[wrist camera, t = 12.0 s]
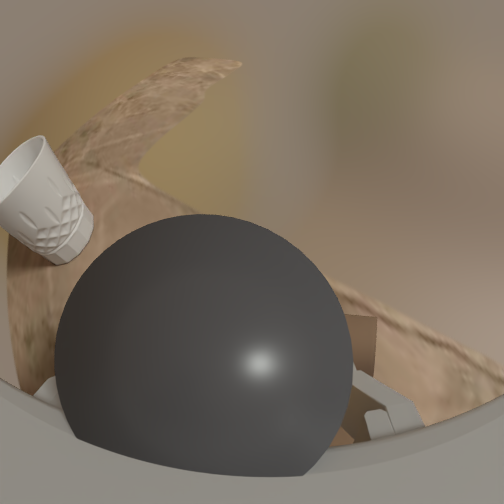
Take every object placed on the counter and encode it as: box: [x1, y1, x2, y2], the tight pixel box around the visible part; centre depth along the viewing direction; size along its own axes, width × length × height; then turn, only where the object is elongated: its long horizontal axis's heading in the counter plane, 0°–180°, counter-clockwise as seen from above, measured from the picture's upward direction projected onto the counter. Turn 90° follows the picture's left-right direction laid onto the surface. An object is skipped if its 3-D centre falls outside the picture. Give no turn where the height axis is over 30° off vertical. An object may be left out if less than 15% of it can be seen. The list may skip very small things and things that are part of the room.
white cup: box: [0, 135, 94, 265], centre depth 18 cm, size 8×8×10 cm
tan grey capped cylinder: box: [55, 214, 353, 477], centre depth 9 cm, size 7×6×11 cm
